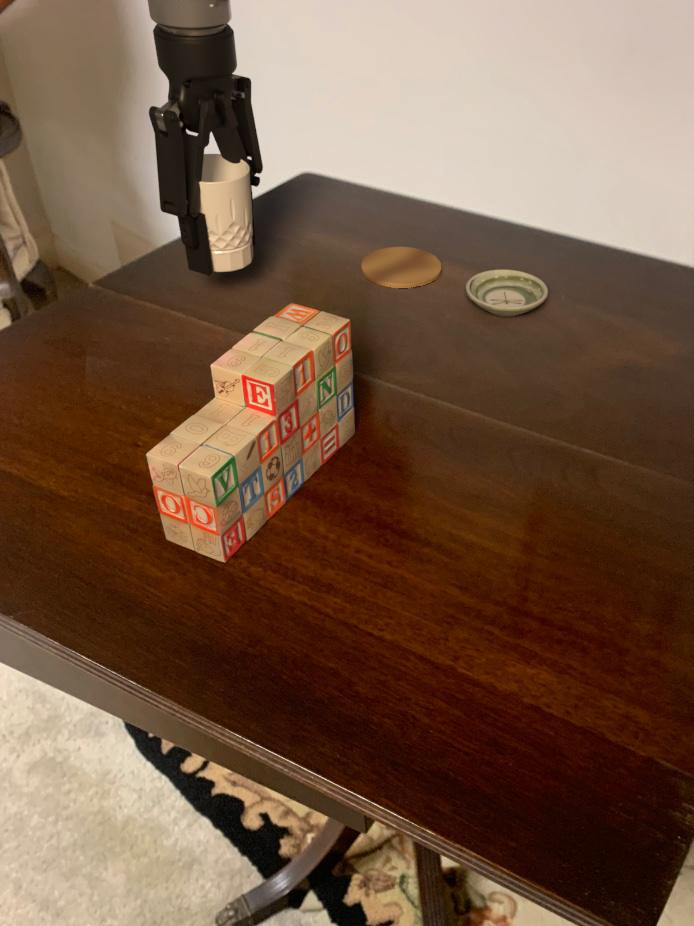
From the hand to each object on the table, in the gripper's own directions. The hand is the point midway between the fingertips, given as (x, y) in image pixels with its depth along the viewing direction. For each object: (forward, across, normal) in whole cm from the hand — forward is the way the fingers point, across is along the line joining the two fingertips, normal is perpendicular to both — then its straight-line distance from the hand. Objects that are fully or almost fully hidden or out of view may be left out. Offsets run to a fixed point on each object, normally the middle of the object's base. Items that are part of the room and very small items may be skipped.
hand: (223, 256), depth 101 cm
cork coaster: (+4, +16, -14) cm, 22 cm away
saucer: (+4, +14, -29) cm, 33 cm away
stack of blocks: (+5, -27, -23) cm, 36 cm away
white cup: (0, 0, 0) cm, 0 cm away
